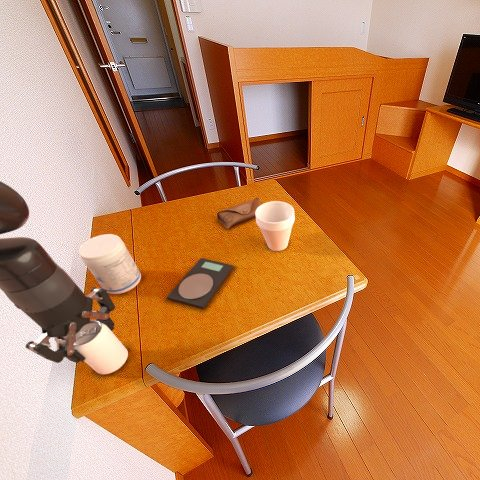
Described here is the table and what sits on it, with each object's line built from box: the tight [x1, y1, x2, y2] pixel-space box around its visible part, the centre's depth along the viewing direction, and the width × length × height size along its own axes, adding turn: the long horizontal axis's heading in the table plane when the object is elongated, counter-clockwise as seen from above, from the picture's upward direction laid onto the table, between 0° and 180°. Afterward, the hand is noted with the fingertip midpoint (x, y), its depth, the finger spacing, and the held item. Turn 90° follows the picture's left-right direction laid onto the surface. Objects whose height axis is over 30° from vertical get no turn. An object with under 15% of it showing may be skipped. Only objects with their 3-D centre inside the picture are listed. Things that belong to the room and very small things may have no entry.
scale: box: [166, 257, 234, 310], centre depth 80 cm, size 16×11×2 cm
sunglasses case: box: [216, 197, 263, 229], centre depth 106 cm, size 18×7×7 cm, turn 131°
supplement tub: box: [77, 233, 142, 295], centre depth 75 cm, size 10×10×15 cm
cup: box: [255, 200, 296, 252], centre depth 90 cm, size 12×12×14 cm
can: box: [74, 319, 129, 375], centre depth 59 cm, size 6×6×12 cm
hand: (96, 343), depth 57 cm, fingers closed on can, 6 cm apart
